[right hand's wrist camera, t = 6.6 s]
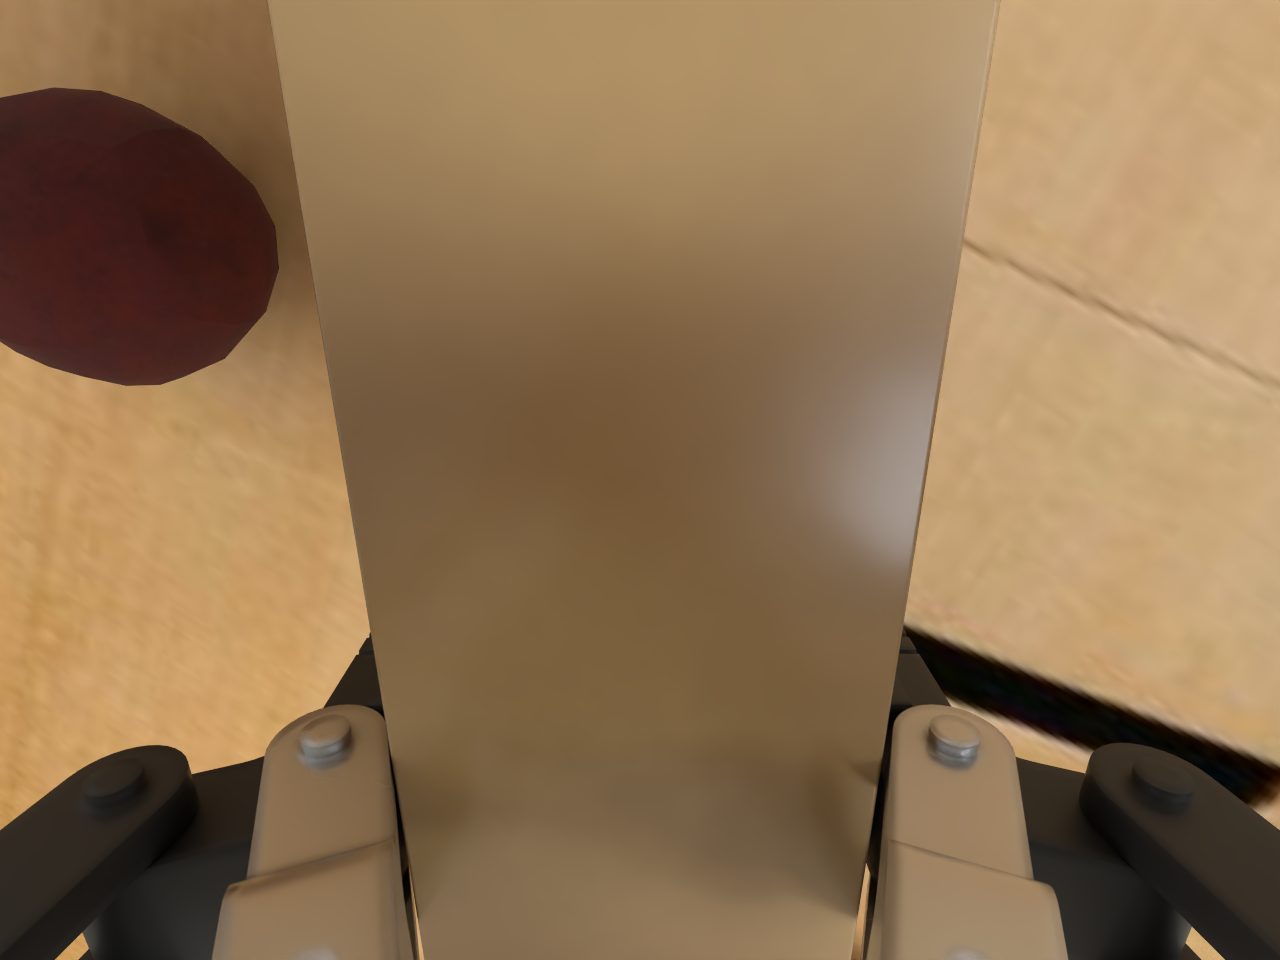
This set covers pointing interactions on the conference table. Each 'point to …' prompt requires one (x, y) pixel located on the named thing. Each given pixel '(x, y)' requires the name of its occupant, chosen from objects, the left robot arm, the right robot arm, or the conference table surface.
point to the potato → (124, 240)
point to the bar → (635, 437)
